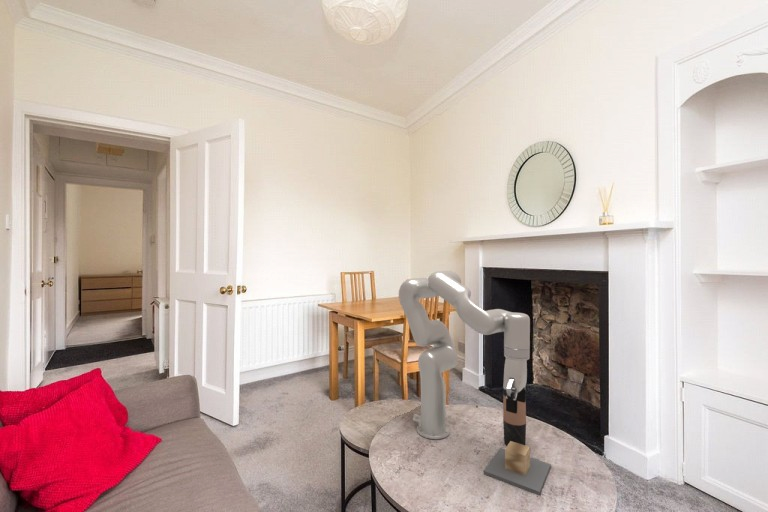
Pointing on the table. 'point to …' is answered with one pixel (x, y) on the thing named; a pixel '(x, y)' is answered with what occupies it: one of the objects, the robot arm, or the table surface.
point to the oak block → (517, 458)
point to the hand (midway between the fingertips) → (516, 406)
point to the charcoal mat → (529, 482)
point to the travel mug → (514, 422)
